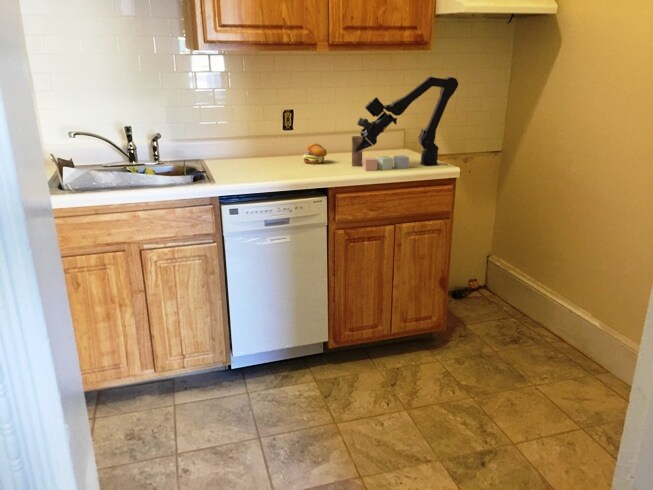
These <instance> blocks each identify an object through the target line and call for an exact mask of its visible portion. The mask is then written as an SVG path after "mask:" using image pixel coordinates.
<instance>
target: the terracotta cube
mask: <svg viewBox="0 0 653 490" xmlns="http://www.w3.org/2000/svg"><path fill="white" fill-rule="evenodd" d="M362 170H364V172H374V171H375V172H376V171H377V170H378V169H377V157H374V156H371V157H362Z"/></svg>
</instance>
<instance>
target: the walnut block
mask: <svg viewBox="0 0 653 490" xmlns="http://www.w3.org/2000/svg"><path fill="white" fill-rule="evenodd" d="M362 140H363V137H362V136H361V135H352V136H351V166H352V167H363V150H360V151H358V152H357V151H356V148H357V147H358V146H359V144H360V143H361V142H362Z"/></svg>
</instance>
